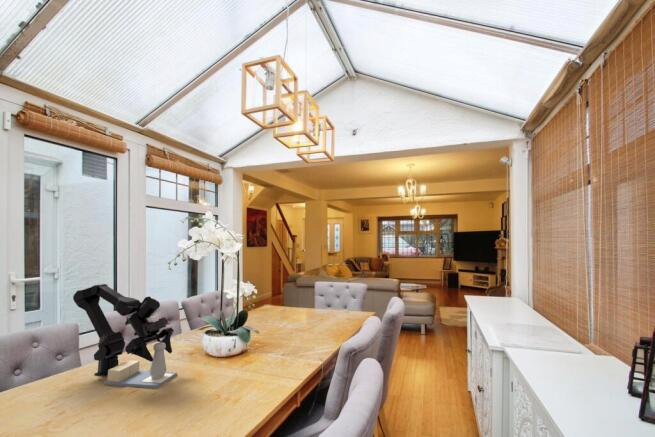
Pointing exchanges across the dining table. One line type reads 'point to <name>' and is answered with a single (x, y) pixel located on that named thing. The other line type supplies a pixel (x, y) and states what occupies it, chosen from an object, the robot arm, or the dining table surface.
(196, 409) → the dining table surface
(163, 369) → the salt shaker
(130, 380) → the board
